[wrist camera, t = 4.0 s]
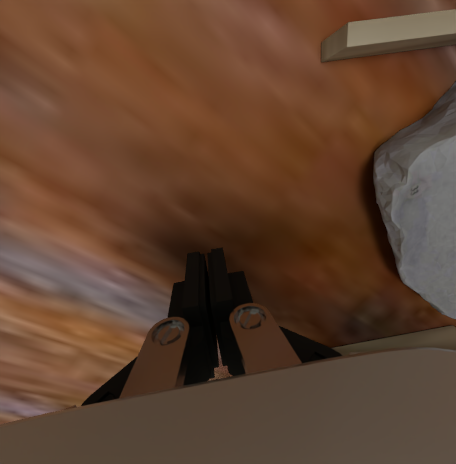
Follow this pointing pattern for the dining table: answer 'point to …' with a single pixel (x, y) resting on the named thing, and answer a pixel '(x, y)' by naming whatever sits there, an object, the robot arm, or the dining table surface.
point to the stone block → (422, 202)
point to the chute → (383, 42)
